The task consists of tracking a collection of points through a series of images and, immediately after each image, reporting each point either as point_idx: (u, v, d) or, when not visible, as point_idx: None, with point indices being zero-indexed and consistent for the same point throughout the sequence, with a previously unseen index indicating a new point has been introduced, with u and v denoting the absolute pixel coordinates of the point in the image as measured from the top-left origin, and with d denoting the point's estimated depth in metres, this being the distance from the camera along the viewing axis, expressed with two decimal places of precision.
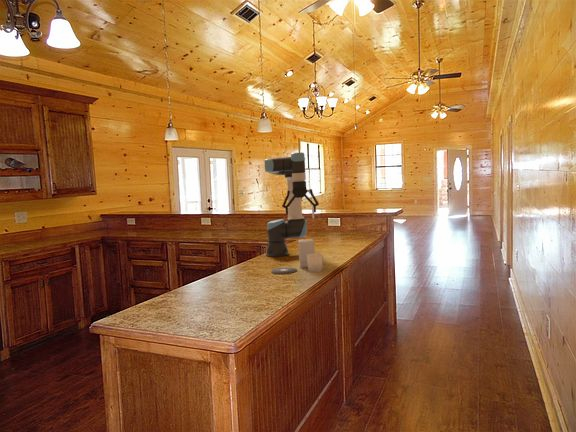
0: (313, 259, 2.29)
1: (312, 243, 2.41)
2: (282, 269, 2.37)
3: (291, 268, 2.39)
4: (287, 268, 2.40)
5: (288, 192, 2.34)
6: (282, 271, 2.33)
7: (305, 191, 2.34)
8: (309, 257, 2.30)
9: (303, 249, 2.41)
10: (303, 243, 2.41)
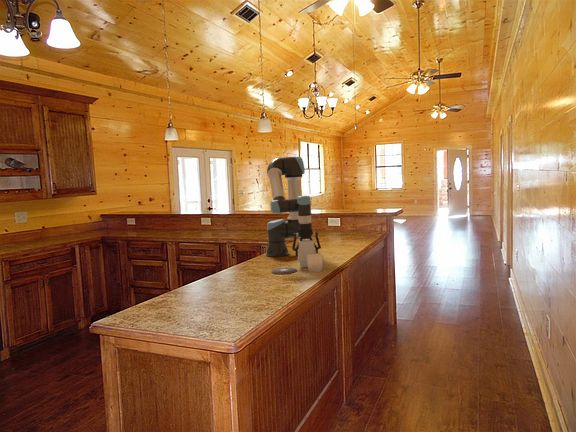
0: (313, 259, 2.29)
1: (312, 243, 2.41)
2: (282, 269, 2.37)
3: (291, 268, 2.39)
4: (287, 268, 2.40)
5: (295, 235, 2.43)
6: (282, 271, 2.33)
7: (311, 233, 2.44)
8: (309, 257, 2.30)
9: (303, 249, 2.41)
10: (303, 243, 2.41)
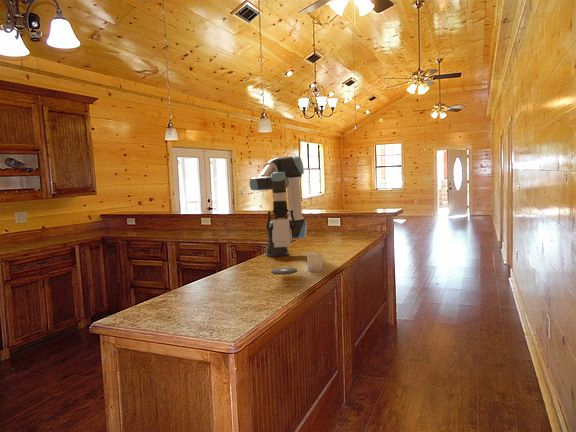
0: (313, 259, 2.29)
1: (287, 221, 2.29)
2: (282, 269, 2.37)
3: (291, 268, 2.39)
4: (287, 268, 2.40)
5: (269, 213, 2.31)
6: (282, 271, 2.33)
7: (286, 211, 2.32)
8: (309, 257, 2.30)
9: (277, 228, 2.29)
10: (277, 221, 2.29)
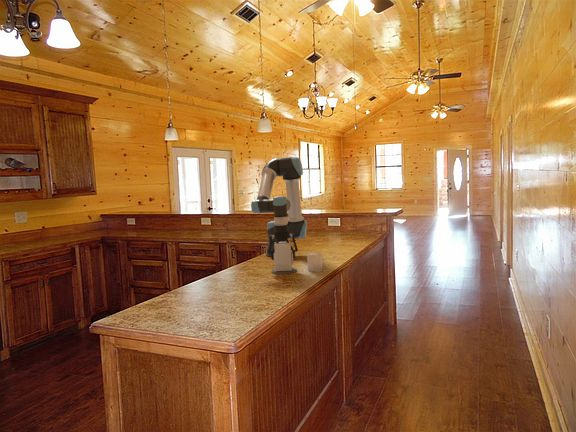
0: (313, 259, 2.29)
1: (288, 245, 2.30)
2: None
3: None
4: None
5: (270, 237, 2.32)
6: (282, 271, 2.33)
7: (287, 235, 2.33)
8: (309, 257, 2.30)
9: (279, 252, 2.30)
10: (279, 246, 2.30)
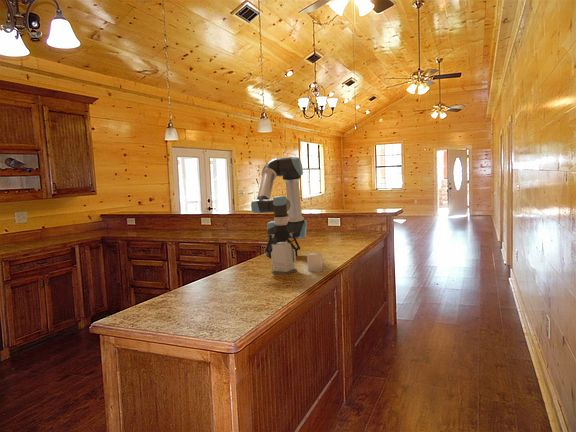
0: (313, 259, 2.29)
1: None
2: None
3: None
4: None
5: (270, 236, 2.32)
6: None
7: (287, 235, 2.33)
8: (309, 257, 2.30)
9: (288, 252, 2.31)
10: (288, 245, 2.31)
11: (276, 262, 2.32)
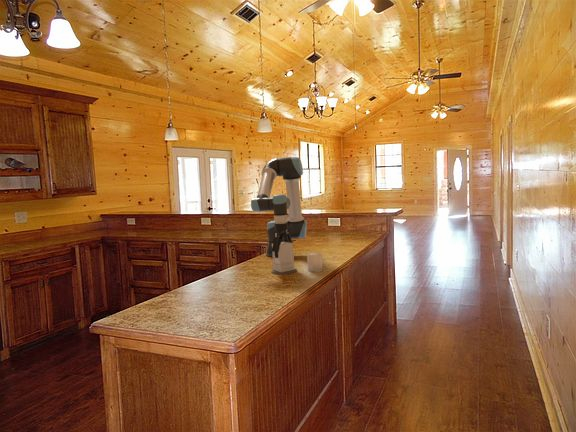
0: (313, 259, 2.29)
1: None
2: None
3: None
4: None
5: (278, 235, 2.28)
6: None
7: (286, 232, 2.36)
8: (309, 257, 2.30)
9: None
10: None
11: (284, 263, 2.31)
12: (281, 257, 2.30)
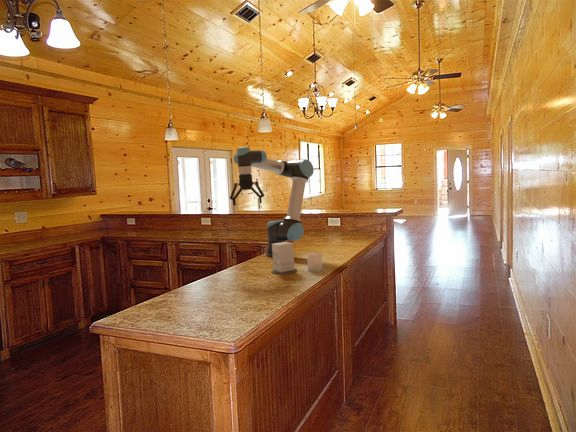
0: (313, 259, 2.29)
1: None
2: None
3: None
4: None
5: (235, 184, 2.46)
6: None
7: (251, 183, 2.49)
8: (309, 257, 2.30)
9: None
10: None
11: (284, 263, 2.31)
12: (281, 257, 2.30)
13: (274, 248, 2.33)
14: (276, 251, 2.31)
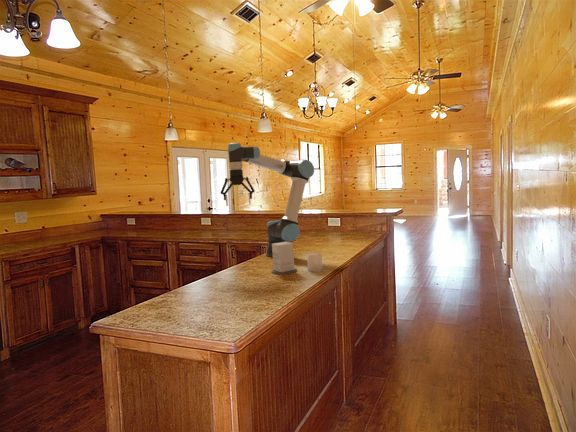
0: (313, 259, 2.29)
1: None
2: None
3: None
4: None
5: (226, 180, 2.52)
6: None
7: (241, 179, 2.53)
8: (309, 257, 2.30)
9: None
10: None
11: (284, 263, 2.31)
12: (281, 257, 2.30)
13: (275, 248, 2.33)
14: (277, 251, 2.31)
